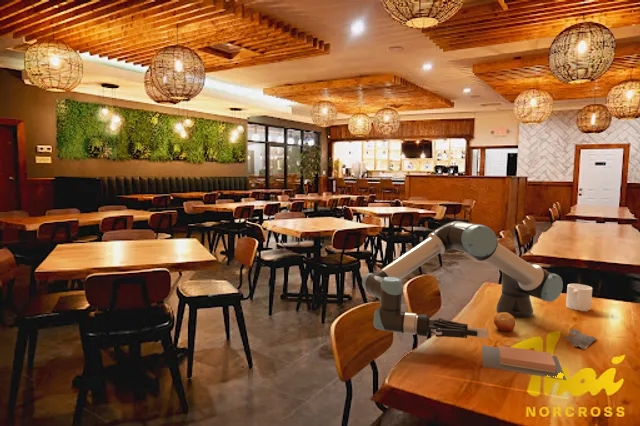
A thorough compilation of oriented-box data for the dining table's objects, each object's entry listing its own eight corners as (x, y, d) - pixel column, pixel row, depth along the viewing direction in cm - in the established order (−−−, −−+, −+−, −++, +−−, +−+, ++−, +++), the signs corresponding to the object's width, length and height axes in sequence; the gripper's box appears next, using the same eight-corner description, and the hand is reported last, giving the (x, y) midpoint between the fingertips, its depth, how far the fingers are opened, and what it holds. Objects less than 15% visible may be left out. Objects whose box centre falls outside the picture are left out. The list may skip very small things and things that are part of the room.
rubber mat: (482, 367, 138) (482, 366, 138) (482, 346, 155) (482, 345, 155) (566, 381, 130) (566, 380, 129) (556, 357, 146) (556, 356, 146)
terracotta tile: (500, 357, 139) (555, 365, 134) (499, 345, 149) (550, 353, 143) (500, 364, 140) (555, 372, 134) (499, 352, 149) (550, 359, 143)
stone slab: (571, 328, 172) (599, 333, 165) (571, 332, 172) (599, 338, 165) (555, 341, 160) (586, 347, 152) (555, 346, 160) (586, 352, 152)
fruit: (513, 323, 175) (515, 310, 171) (514, 338, 169) (516, 325, 165) (492, 320, 178) (493, 307, 173) (492, 335, 172) (494, 322, 167)
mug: (569, 303, 208) (570, 282, 207) (593, 308, 201) (594, 286, 200) (561, 308, 199) (563, 287, 198) (586, 314, 192) (587, 291, 191)
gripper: (419, 328, 159) (486, 337, 151) (414, 341, 147) (487, 352, 139) (419, 308, 158) (487, 317, 150) (415, 320, 146) (488, 329, 138)
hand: (487, 333), depth 144 cm, fingers closed
